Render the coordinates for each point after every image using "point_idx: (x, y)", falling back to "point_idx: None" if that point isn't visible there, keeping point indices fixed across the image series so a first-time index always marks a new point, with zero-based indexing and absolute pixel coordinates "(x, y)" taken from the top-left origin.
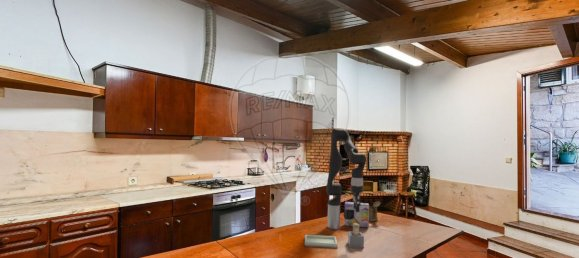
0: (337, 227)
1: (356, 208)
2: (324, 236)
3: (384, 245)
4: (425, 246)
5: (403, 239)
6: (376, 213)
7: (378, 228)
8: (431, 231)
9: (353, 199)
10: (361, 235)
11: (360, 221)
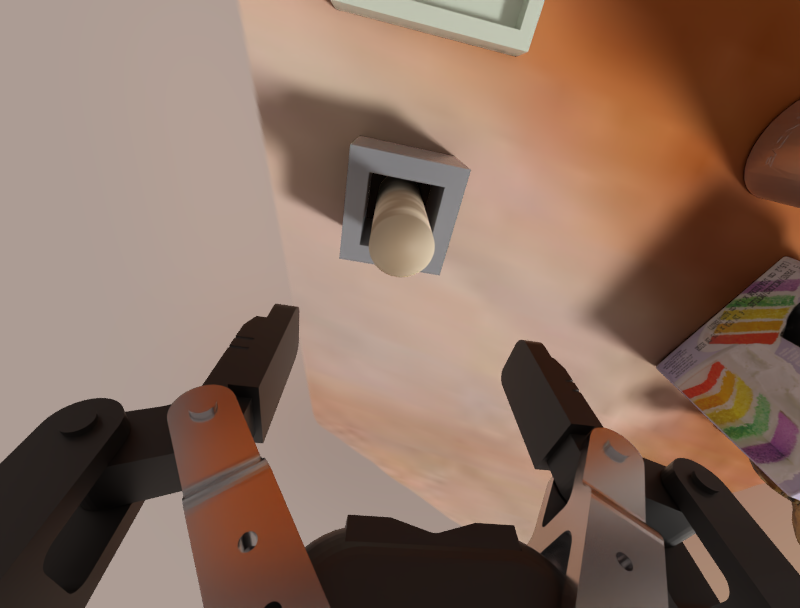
0: (756, 171)
1: (252, 350)
2: None
3: (389, 343)
4: (377, 458)
5: (456, 430)
6: (752, 463)
7: (622, 399)
8: (517, 515)
9: (584, 521)
10: (361, 248)
11: (719, 355)
